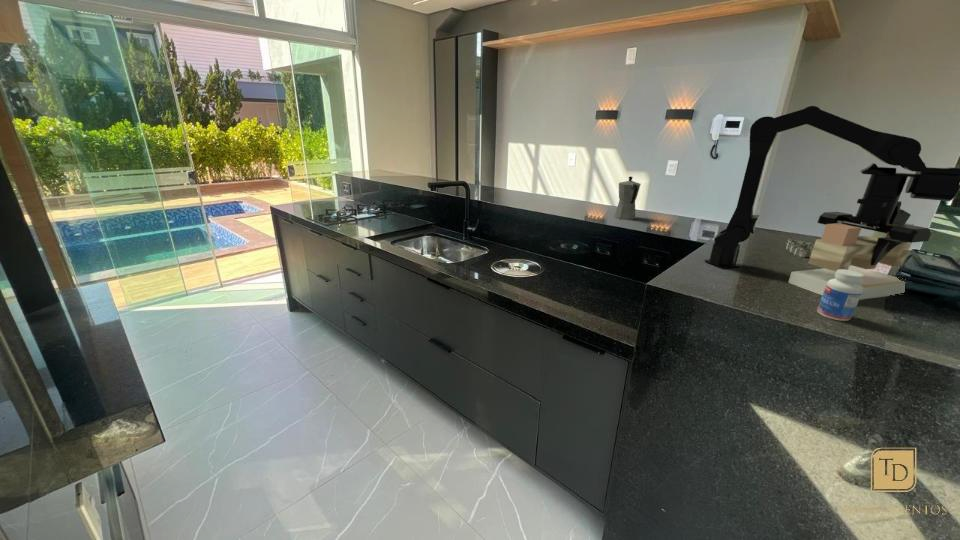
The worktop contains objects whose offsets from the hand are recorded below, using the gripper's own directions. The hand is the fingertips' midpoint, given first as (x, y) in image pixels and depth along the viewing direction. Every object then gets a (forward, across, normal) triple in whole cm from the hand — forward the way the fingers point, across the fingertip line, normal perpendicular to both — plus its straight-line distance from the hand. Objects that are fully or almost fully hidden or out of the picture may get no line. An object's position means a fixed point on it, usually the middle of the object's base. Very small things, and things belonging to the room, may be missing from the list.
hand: (856, 260), depth 90 cm
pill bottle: (+7, -11, +20) cm, 24 cm away
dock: (+7, 0, 0) cm, 7 cm away
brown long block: (+1, 0, 0) cm, 1 cm away
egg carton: (+8, +25, -19) cm, 32 cm away
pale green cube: (-5, 0, -8) cm, 10 cm away
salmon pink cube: (-5, 0, +8) cm, 10 cm away
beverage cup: (+7, +5, -19) cm, 21 cm away
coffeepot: (+8, +82, +6) cm, 83 cm away
